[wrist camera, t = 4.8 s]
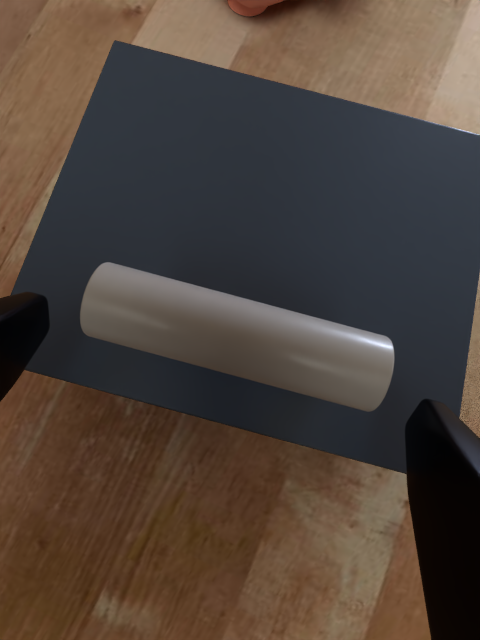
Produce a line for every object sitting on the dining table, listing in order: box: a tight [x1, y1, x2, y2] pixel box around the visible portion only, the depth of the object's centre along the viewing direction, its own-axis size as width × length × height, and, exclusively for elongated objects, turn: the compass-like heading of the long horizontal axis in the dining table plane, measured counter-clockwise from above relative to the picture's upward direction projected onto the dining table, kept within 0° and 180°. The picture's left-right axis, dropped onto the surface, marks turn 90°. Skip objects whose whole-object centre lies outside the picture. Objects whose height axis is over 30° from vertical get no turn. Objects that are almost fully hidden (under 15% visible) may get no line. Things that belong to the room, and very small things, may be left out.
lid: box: [10, 40, 480, 474], centre depth 10 cm, size 11×14×5 cm
